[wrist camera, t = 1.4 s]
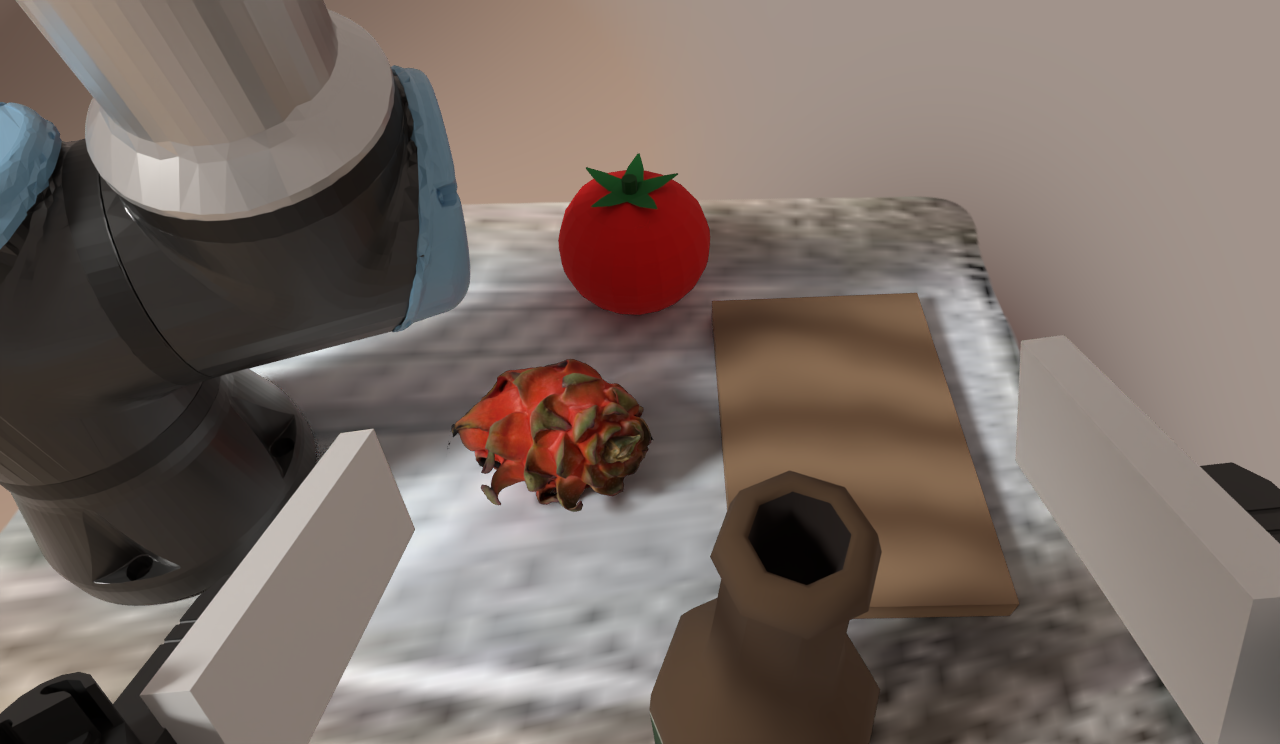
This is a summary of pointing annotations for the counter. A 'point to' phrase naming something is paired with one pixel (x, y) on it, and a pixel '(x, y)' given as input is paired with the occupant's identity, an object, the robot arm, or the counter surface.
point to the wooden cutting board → (863, 439)
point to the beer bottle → (776, 626)
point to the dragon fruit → (556, 433)
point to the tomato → (633, 240)
